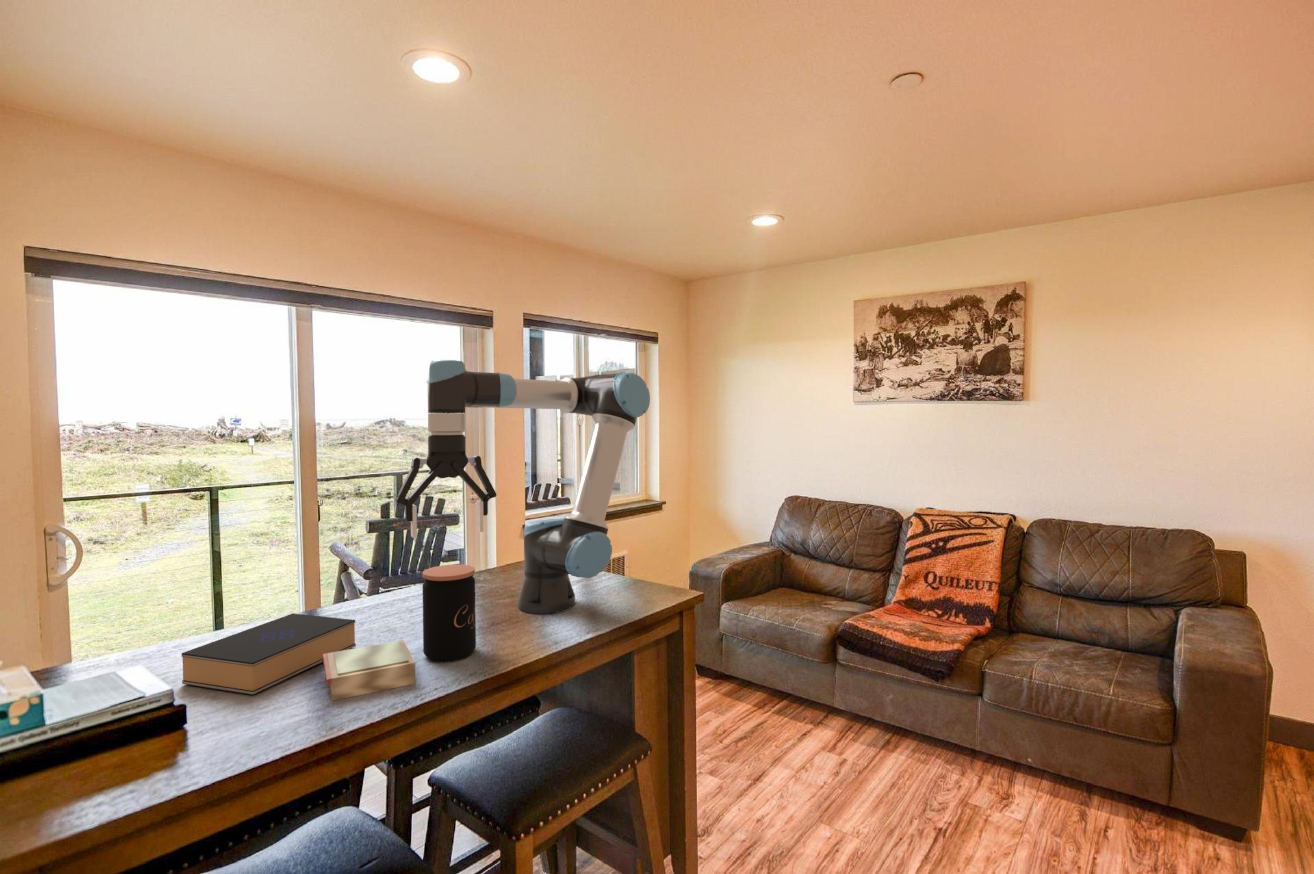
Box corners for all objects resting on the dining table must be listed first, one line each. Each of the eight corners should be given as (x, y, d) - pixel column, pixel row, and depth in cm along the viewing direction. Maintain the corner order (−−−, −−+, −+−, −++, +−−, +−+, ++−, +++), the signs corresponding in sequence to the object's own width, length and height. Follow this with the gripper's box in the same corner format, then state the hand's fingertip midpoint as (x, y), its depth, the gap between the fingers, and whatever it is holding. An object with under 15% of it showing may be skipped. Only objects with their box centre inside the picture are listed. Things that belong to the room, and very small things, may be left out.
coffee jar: (460, 665, 127) (459, 577, 126) (413, 661, 129) (411, 575, 128) (485, 646, 137) (484, 565, 137) (440, 643, 139) (439, 563, 139)
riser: (403, 659, 130) (403, 638, 130) (415, 683, 118) (415, 661, 118) (323, 674, 123) (322, 652, 122) (327, 701, 110) (326, 677, 110)
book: (181, 687, 117) (180, 653, 117) (293, 642, 141) (292, 613, 141) (253, 699, 113) (252, 662, 112) (356, 649, 137) (355, 619, 136)
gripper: (500, 432, 141) (500, 526, 142) (380, 434, 128) (381, 536, 129) (510, 433, 135) (510, 531, 135) (385, 434, 122) (386, 542, 122)
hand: (447, 534), depth 132 cm, fingers open, 13 cm apart
